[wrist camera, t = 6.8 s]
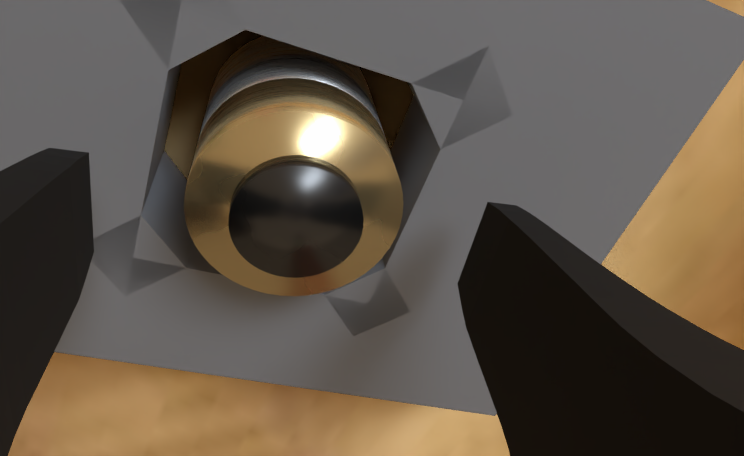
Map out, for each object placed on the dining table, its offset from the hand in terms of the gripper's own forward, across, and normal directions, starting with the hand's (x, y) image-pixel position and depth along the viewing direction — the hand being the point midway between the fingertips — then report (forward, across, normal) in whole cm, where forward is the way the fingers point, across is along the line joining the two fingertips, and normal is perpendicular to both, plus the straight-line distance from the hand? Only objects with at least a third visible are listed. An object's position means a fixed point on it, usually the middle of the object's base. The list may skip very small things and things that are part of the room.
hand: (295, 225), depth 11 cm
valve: (+5, 0, 0) cm, 5 cm away
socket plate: (+5, 0, 0) cm, 5 cm away
